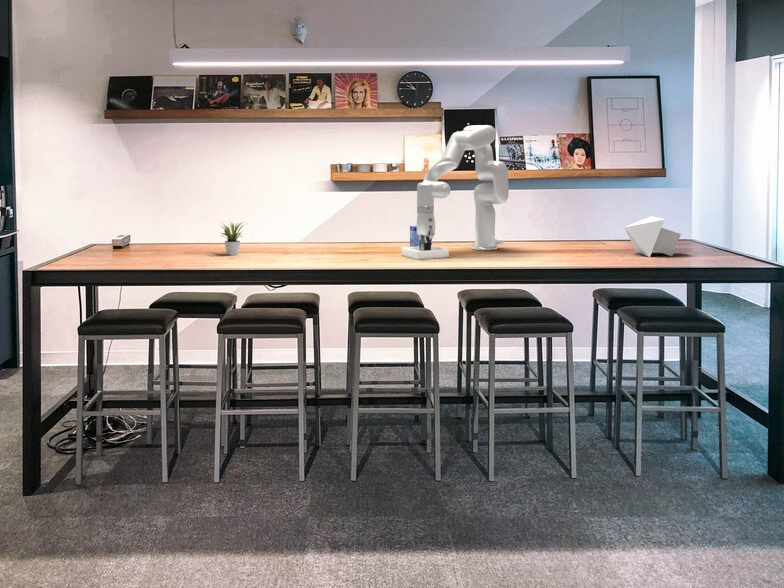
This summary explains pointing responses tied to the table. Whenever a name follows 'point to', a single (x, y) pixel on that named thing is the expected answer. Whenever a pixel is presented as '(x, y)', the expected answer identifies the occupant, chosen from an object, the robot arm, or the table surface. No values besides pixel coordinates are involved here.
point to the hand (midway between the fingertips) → (425, 250)
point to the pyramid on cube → (652, 236)
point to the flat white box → (425, 253)
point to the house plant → (232, 239)
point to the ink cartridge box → (414, 237)
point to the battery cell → (422, 242)
